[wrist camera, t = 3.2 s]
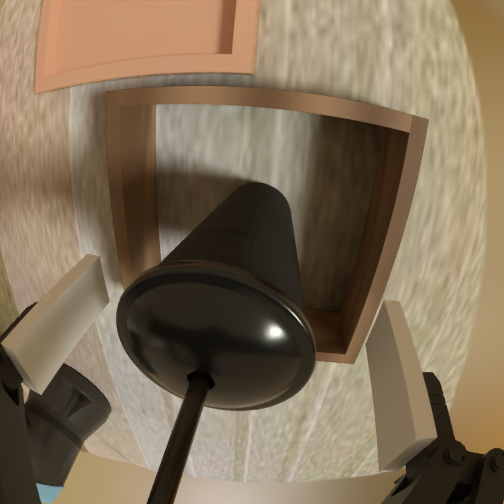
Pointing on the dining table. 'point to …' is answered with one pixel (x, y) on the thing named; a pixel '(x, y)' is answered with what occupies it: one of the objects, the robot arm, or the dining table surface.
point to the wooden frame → (395, 122)
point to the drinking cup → (221, 320)
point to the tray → (143, 40)
